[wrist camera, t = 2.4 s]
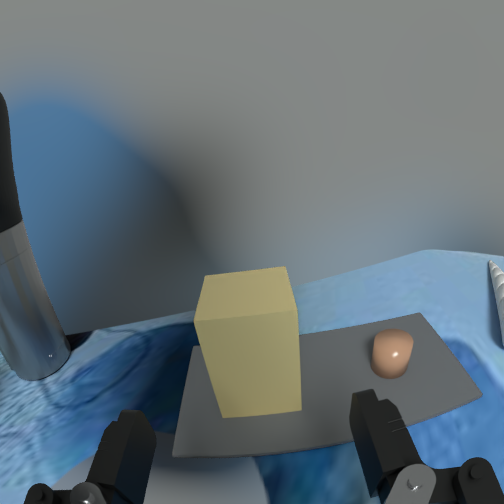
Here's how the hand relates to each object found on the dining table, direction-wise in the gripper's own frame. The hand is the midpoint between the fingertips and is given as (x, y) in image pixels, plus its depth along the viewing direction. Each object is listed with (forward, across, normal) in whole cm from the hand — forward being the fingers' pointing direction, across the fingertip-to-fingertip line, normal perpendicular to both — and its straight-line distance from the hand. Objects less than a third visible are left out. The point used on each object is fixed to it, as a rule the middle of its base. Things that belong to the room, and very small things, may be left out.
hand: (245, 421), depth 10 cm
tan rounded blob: (+12, -12, +11) cm, 20 cm away
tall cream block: (+12, 0, +11) cm, 16 cm away
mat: (+12, -6, +11) cm, 17 cm away
